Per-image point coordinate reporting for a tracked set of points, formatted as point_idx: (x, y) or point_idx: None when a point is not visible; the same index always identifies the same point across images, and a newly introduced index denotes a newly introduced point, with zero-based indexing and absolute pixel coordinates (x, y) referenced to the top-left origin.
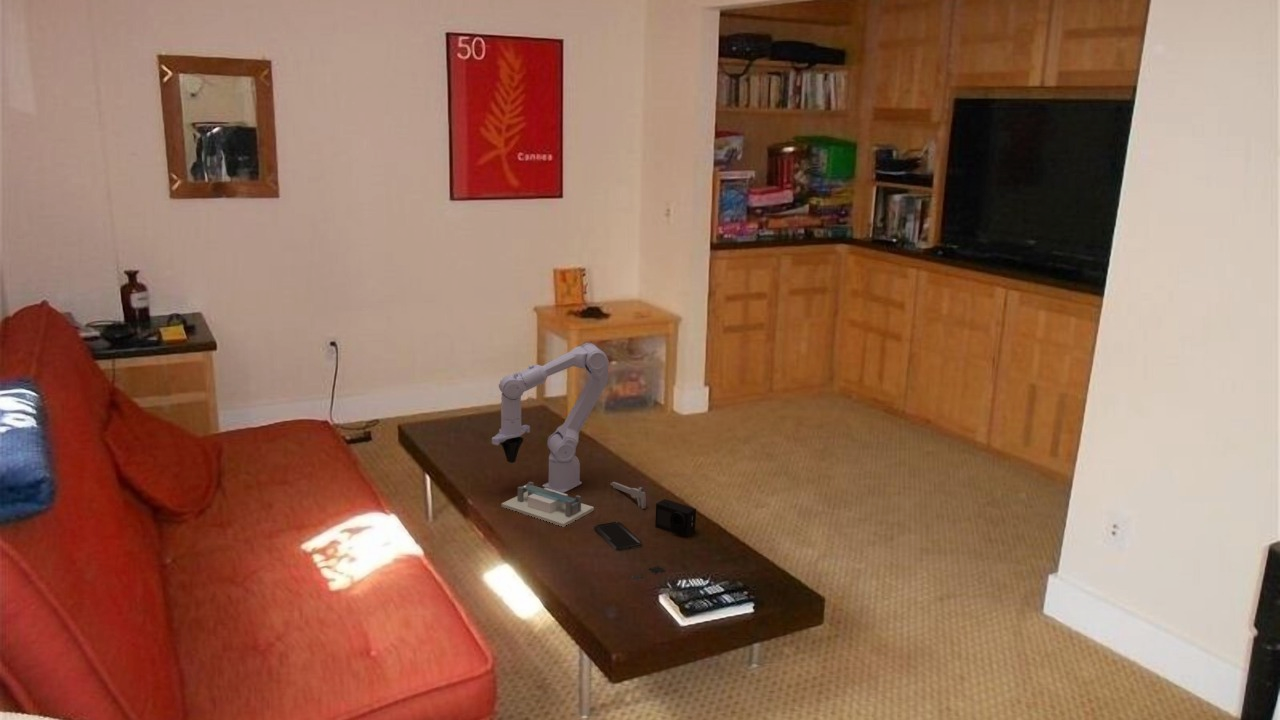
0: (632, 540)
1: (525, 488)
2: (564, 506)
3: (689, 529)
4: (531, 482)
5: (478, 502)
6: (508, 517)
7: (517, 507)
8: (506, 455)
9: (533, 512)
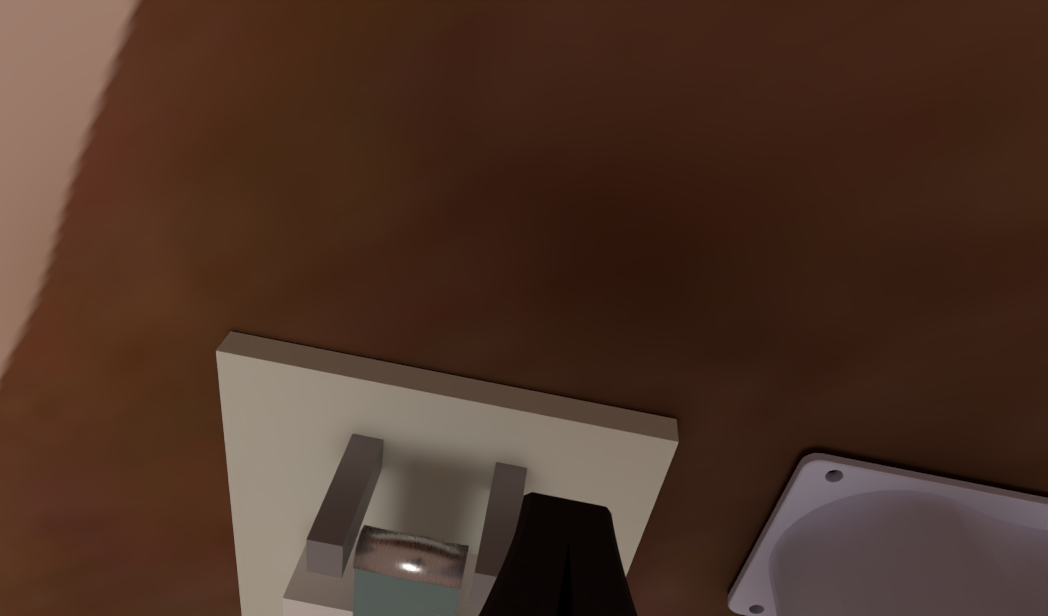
0: None
1: (355, 581)
2: None
3: None
4: None
5: (151, 90)
6: (129, 444)
7: (248, 476)
8: (494, 593)
9: (258, 578)
